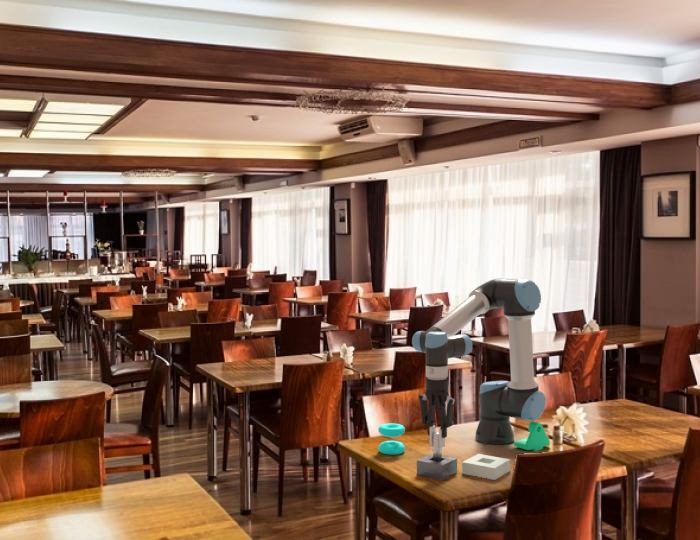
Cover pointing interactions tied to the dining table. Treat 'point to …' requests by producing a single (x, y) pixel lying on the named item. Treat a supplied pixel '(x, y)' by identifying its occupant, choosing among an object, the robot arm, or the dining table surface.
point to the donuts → (391, 446)
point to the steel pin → (436, 448)
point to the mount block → (437, 467)
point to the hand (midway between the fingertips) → (437, 445)
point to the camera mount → (534, 438)
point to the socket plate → (486, 466)
